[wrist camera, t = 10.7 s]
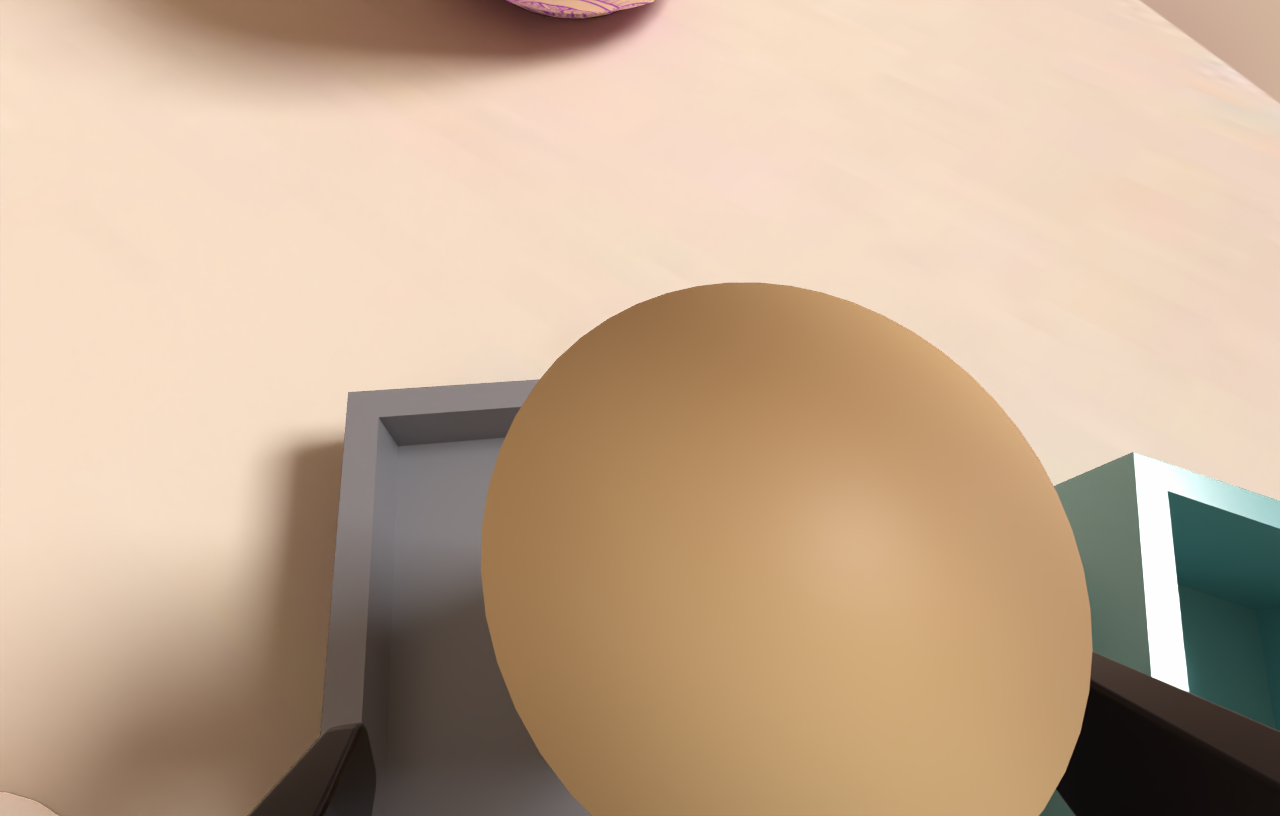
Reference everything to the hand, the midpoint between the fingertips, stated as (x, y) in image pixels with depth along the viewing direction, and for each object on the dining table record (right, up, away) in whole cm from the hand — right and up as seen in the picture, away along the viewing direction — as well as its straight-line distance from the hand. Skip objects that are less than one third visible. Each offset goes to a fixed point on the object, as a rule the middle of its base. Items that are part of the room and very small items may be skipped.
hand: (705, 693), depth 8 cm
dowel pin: (-1, -2, +7) cm, 8 cm away
